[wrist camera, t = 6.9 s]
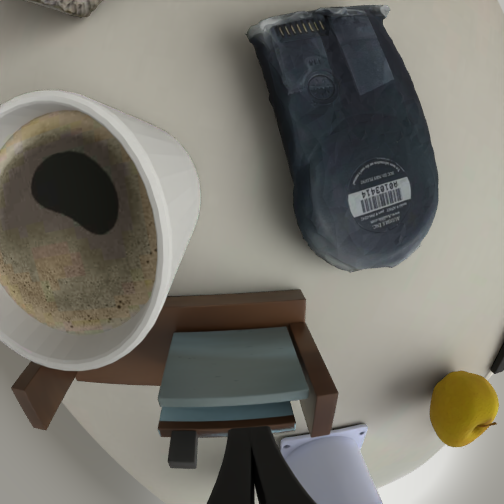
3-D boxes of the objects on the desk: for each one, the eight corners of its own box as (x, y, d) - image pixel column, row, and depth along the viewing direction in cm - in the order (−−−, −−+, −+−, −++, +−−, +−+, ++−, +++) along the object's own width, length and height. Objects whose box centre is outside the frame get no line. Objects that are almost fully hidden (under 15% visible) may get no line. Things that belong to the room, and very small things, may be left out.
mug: (234, 192, 17) (245, 234, 8) (132, 305, 19) (73, 417, 9) (101, 74, 14) (1, 16, 5) (17, 195, 16) (-94, 233, 6)
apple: (471, 346, 23) (522, 393, 15) (461, 392, 24) (500, 439, 17) (418, 372, 22) (465, 432, 15) (411, 417, 24) (447, 473, 17)
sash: (277, 364, 19) (303, 461, 11) (172, 370, 18) (155, 468, 11) (278, 356, 18) (304, 453, 11) (171, 361, 18) (151, 460, 11)
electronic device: (228, 58, 16) (312, 290, 19) (240, 6, 11) (354, 318, 13) (354, 39, 17) (426, 237, 20) (394, 0, 12) (482, 244, 14)
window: (297, 365, 21) (326, 451, 13) (83, 369, 20) (44, 444, 12) (300, 288, 19) (343, 366, 12) (60, 298, 18) (-1, 364, 10)
